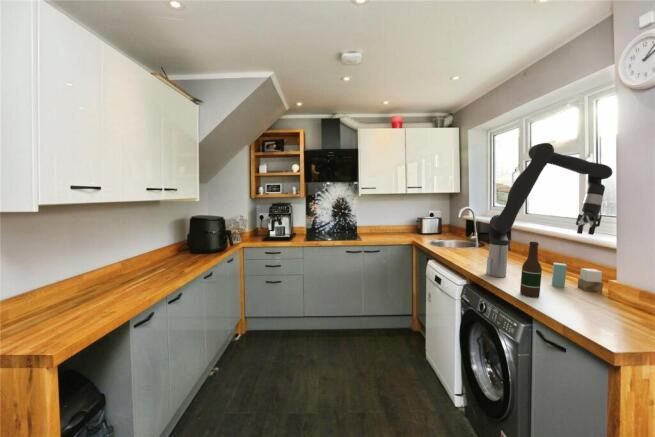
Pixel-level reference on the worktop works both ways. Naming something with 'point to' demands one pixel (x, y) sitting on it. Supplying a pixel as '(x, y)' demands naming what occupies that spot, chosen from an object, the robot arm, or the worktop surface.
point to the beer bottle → (531, 273)
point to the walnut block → (590, 286)
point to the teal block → (559, 275)
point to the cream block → (591, 275)
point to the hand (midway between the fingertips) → (584, 234)
